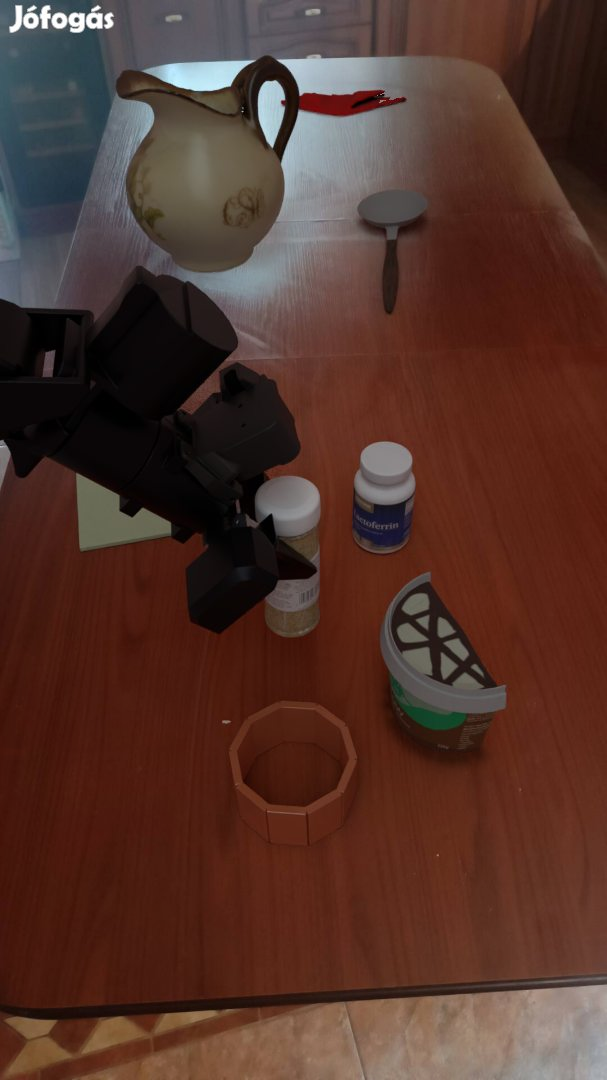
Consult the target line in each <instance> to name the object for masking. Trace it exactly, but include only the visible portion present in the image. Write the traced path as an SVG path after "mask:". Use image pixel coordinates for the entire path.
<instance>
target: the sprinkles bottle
mask: <svg viewBox="0 0 607 1080" xmlns="http://www.w3.org/2000/svg"><path fill="white" fill-rule="evenodd" d="M321 505H322V504H321V494H320V491H319V490H318V487H317V486H316V485H315V484H314V483H313V482H312V481H310V480H308V479H306V478H304V477H302V476H298V475H297V476H296V475H281V476H275V477H273V478H270V480H268V481H267V482H265V483H264V484H263V485H261V486H260V488H259V489H258V490H257V492H256V495H255V514H256V520H257V522H258V524H259V523H260V522H262V521H263V520H264V519H265V518H266V517H267V516H268V515H269V514H271V513H272V514H273V518H274V524H275V529H276V535H277V537H278V538H279V539H281V540H282V541H283V542H285V543H286V544H287V545H289V546H290V547H292V548H293V549H294V550H296V551H297V552H299V553H300V554H301V555H303V556H304V557H305V558H307V559H308V560H309V561H310V562H311V563H312V564H314V565H315V566H316V568H317V573H316V574H314V575H313V576H312V577H311V578H309V579H301V580H279V581H278V583H277V585H276V588H275V590H274V591H273V592H271V593H270V594H269V595H268V596H266V597H265V598H264V608H265V609H264V620H265V624H266V626H267V627H268V628H269V629H270V631H272V632H273V633H275V634H276V635H278V636H281V637H283V638H298V637H303V636H306V635H307V634H309V633H311V632H312V631H314V629H316V627H317V625H318V624H319V622H320V616H321V609H320V607H319V605H320V601H319V600H320V599H319V595H320V590H321V588H320V586H321V582H320V581H321V567H320V565H321V564H320V563H321V557H320V556H321V552H320V542H319V523H320V519H321V515H322V509H321Z"/></svg>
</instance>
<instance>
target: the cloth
mask: <svg viewBox="0 0 607 1080" xmlns="http://www.w3.org/2000/svg"><path fill="white" fill-rule="evenodd" d="M385 91H386V90H383V89H373V90H371V89H370V90H357V91H355V92H353V93H352V94H350V93H345V94H344V93H343V94H336V93H335V94H334V93H332V94H331V95H330V94H325V93H316V92H303V93H302V94H301V95H300V104H299V110H300V111H306V112H311V113H316V114H321V115H327V116H338V117H346V116H351V115H356V114H360V113H363V112H367V111H371V110H375V109H378V108H381V107H385V106H389V105H392V104H396V103H399V102H404V101H407V100H408V98H407V97H405V96H403V97H402V98H396V99H394V100H389V99H390V97H391V96H386V92H385ZM384 92H385V94H382V93H384ZM380 94H382V95H380ZM377 95H378V96H377ZM380 100H386V101H383V102H381V103H379V102H380ZM280 104H281V105H282V106H284V107H285V99H282V100H280Z"/></svg>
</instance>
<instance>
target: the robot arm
mask: <svg viewBox="0 0 607 1080" xmlns="http://www.w3.org/2000/svg"><path fill="white" fill-rule="evenodd" d="M238 347H239V338H238V335H237V333H236V330H235V328H234V326H233V324H232V322H231V321H230V320H229V318H228V317H227V315H226V314H225V313H224V312H223V310H222V309H221V308H220V306H218V305H217V303H216V302H215V301H214V300H213V299H212V298H211V297H210V296H208V294H206V293H205V292H204V291H203V290H202V289H200V288H199V287H198V286H197V285H195V283H193V282H191V281H189V280H186V281H183V280H181V279H180V278H178V277H175V276H173V275H170V274H164V273H162V274H159V275H157V276H156V275H155V274H154V273H153V272H151V271H149V270H148V269H147V268H146V267H144V265H136V266H134V268H133V269H132V270H131V271H130V272H129V274H128V275H127V277H126V278H125V279H124V281H123V282H122V284H121V286H120V289H119V291H118V292H117V294H116V296H115V297H114V298H113V299H112V300H111V302H109V304H108V305H107V306H106V307H105V309H104V310H103V312H102V313H100V315H99V316H98V318H97V319H96V320H95V313H94V312H93V311H91V310H90V309H74V308H47V307H23V306H20V305H19V304H16V303H14V302H12V301H9V300H6V299H4V298H0V441H1V442H2V441H3V443H4V444H5V446H6V448H7V449H8V451H9V453H10V456H11V460H12V465H13V469H14V471H13V472H14V475H15V476H16V477H17V478H18V479H26V478H27V477H28V476H29V475H30V474H31V473H32V471H33V470H34V469H35V468H36V467H37V466H38V465H39V463H40V462H41V461H42V460H43V459H44V458H47V459H49V460H51V461H53V462H55V463H57V464H59V465H61V466H62V467H64V468H66V469H68V470H70V471H72V472H74V473H75V474H76V473H78V474H80V475H81V476H83V477H85V478H87V479H89V480H91V481H93V482H95V483H97V484H99V485H100V486H102V487H104V488H106V489H108V490H110V491H112V492H114V493H116V494H118V495H119V511H120V512H122V513H124V514H126V515H128V516H130V517H132V518H133V517H134V516H135V515H136V514H137V513H138V512H139V511H140V510H141V509H142V508H144V509H146V510H148V511H150V512H152V513H154V514H155V515H157V516H159V517H161V518H163V519H165V520H167V521H169V522H171V536H170V538H171V539H173V540H175V541H177V542H178V543H181V544H183V545H185V544H186V542H187V541H189V540H190V539H191V538H192V537H193V536H194V535H196V534H198V535H201V540H202V541H201V542H202V547H203V548H205V550H204V551H203V552H202V553H201V554H199V556H197V557H196V558H195V559H194V560H193V561H192V562H190V563H189V564H188V565H187V566H186V567H185V569H184V571H185V585H186V600H187V611H188V612H187V613H188V617H189V622H190V623H191V624H194V625H196V626H199V627H201V628H203V629H205V630H208V631H209V632H211V633H214V634H216V635H221V634H223V633H224V632H225V631H226V630H227V629H229V627H231V626H233V624H235V623H236V622H237V621H238V620H239V619H241V618H242V617H243V616H244V615H246V614H247V613H248V612H250V611H251V610H252V609H253V608H254V607H256V606H257V605H258V604H259V603H261V602H262V601H263V600H265V597H266V596H268V595H269V594H270V593H271V592H273V591H274V590H275V588H276V585H277V583H278V581H279V580H301V579H309V578H311V577H312V576H313V575H314V574H316V573H317V568H316V566H315V565H314V564H312V563H311V562H310V561H309V560H308V559H307V558H305V557H304V556H303V555H301V554H300V553H299V552H297V551H296V550H294V549H293V548H292V547H290V546H289V545H287V544H286V543H285V542H283V541H282V540H281V539H279V538H278V537H277V535H276V529H275V524H274V518H273V514H272V513H271V514H269V515H268V516H267V517H266V518H265V519H264V520H263V521H262V522H260V523H259V524H258V522H257V520H256V514H255V495H256V492H257V490H258V489H259V488H260V486H261V485H263V484H264V483H265V482H267V481H268V480H270V479H271V478H270V477H269V475H268V474H267V473H266V472H267V471H268V470H269V471H270V470H271V469H273V468H276V467H278V466H285V465H288V464H290V463H291V462H293V461H294V460H296V459H297V458H298V457H299V455H300V453H301V449H302V444H301V441H300V439H299V436H298V432H297V427H296V420H295V417H294V416H293V415H294V414H292V412H291V411H290V409H289V407H288V406H287V404H286V402H285V401H284V400H283V398H282V397H281V394H280V393H279V388H278V385H277V382H276V380H274V379H272V378H268V377H267V375H266V374H265V373H263V374H259V373H258V372H257V371H255V370H253V369H252V368H249V367H248V366H246V365H244V364H242V363H240V362H238V361H236V362H234V363H231V364H229V365H228V366H226V367H224V368H221V369H220V370H219V371H218V377H219V391H217V392H212V393H211V394H210V395H209V396H208V397H207V398H206V399H205V400H204V401H203V402H202V403H201V404H200V406H198V408H196V409H195V410H194V411H193V413H189V412H188V411H187V410H185V409H183V408H181V407H182V406H183V405H184V404H185V403H186V402H187V401H188V400H189V398H190V397H192V396H193V394H194V393H196V391H197V390H198V389H199V388H200V387H201V386H203V384H204V383H205V382H206V381H207V380H208V379H209V378H210V377H211V376H212V375H213V374H214V373H215V372H216V371H217V369H218V368H219V367H220V366H221V365H222V364H223V363H224V362H225V361H226V360H228V358H229V357H230V356H231V355H232V354H233V353H234V352H235V351H236V350H237V349H238ZM53 351H54V355H53V365H52V366H53V367H52V375H51V376H44V369H45V361H46V353H49V352H53Z"/></svg>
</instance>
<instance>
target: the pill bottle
mask: <svg viewBox="0 0 607 1080" xmlns="http://www.w3.org/2000/svg"><path fill="white" fill-rule="evenodd" d="M412 470H413V456H412V453H411V452H410V451H409V450H408V448H407V447H405V446H403V445H401V444H400V443H397V442H392V441H377V442H374V443H371V444H369V445H367V446H366V447H365V448H364V449H363V450H362V451H361V454H360V459H359V469H358V470H357V471H356V473H355V476H354V479H353V495H352V496H353V497H352V517H351V518H352V519H351V532H352V533H351V534H352V537H353V539H354V540H355V543H356V544H357V545H358V546H359V547H361V548H362V549H363V550H365V551H368V552H370V553H374V554H380V555H381V554H384V555H385V554H391V553H395V552H398V551H399V550H401V549H402V548H403V547H405V545H406V544H407V543H408V541H409V539H410V537H411V531H412V530H411V529H412V522H413V514H414V506H415V505H414V504H415V503H414V502H415V495H416V487H417V486H416V484H417V483H416V477H415V475H414V473H413V471H412Z"/></svg>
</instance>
